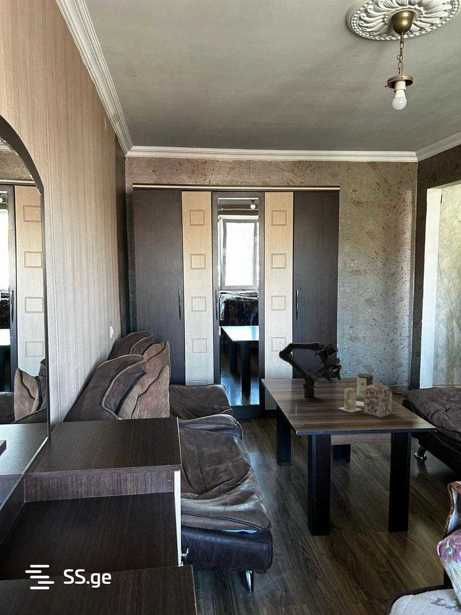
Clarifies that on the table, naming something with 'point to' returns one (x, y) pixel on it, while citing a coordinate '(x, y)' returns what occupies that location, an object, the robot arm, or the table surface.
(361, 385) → the coffee can
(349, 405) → the birch block
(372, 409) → the decorative jar
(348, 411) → the white tile
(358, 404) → the coaster
